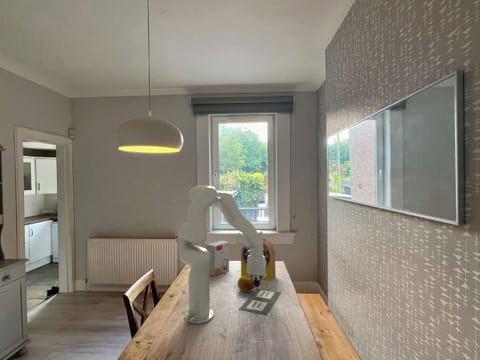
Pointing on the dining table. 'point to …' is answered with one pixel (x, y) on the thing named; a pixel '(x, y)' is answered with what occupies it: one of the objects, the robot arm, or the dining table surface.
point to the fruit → (245, 283)
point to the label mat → (260, 301)
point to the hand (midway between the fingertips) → (257, 286)
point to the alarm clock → (269, 258)
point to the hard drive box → (219, 257)
